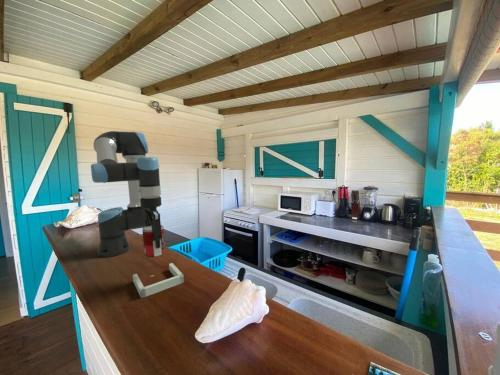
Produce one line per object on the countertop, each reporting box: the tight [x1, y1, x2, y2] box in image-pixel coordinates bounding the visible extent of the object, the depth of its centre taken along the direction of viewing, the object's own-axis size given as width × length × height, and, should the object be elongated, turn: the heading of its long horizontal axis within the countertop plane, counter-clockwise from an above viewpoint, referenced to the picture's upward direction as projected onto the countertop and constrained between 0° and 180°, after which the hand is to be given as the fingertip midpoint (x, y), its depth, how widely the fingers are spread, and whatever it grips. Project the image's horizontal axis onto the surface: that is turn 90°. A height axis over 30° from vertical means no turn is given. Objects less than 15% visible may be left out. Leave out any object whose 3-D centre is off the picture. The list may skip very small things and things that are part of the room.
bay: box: [132, 262, 185, 299], centre depth 88 cm, size 14×16×3 cm
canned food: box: [141, 224, 166, 258], centre depth 88 cm, size 8×8×11 cm
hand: (154, 251), depth 89 cm, fingers closed on canned food, 8 cm apart
